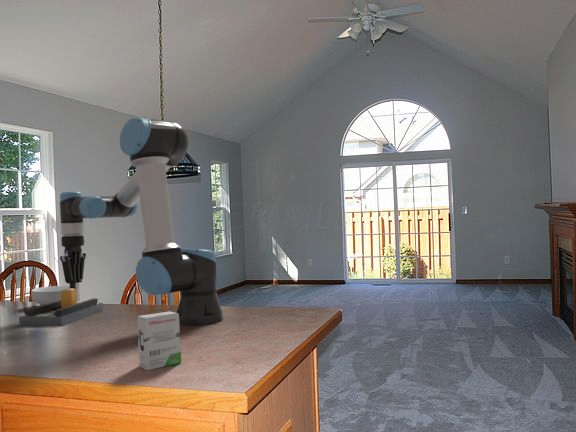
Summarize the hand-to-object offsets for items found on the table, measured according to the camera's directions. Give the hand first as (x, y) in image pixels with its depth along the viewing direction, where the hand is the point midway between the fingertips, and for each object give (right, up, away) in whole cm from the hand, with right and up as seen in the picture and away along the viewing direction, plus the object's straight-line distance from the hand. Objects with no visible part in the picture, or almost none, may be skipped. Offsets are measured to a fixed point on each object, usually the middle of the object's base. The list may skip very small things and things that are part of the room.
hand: (75, 301), depth 197 cm
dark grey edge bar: (-7, -2, -6) cm, 9 cm away
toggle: (-1, -1, -4) cm, 4 cm away
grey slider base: (-1, -5, -7) cm, 9 cm away
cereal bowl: (-15, -5, +19) cm, 24 cm away
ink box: (+47, -4, -69) cm, 84 cm away
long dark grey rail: (+4, -2, -8) cm, 9 cm away
